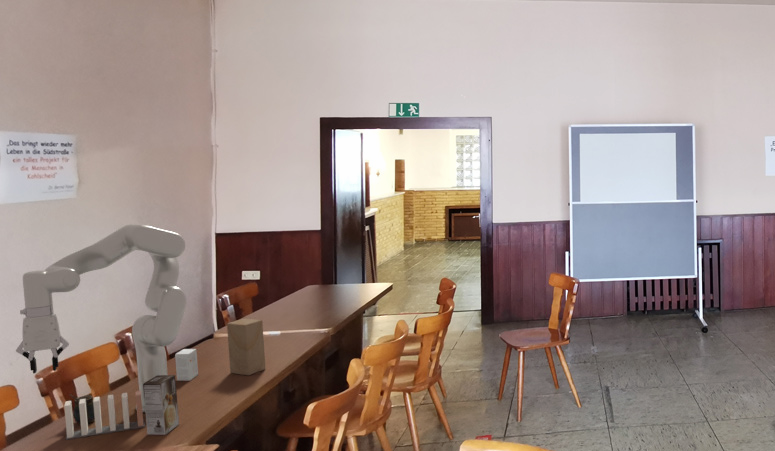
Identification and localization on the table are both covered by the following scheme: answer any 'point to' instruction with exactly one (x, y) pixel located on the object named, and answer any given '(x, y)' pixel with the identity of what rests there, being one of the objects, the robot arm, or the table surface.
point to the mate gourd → (88, 407)
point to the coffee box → (161, 404)
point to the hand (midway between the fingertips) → (44, 370)
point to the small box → (186, 364)
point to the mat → (106, 430)
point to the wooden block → (246, 346)
